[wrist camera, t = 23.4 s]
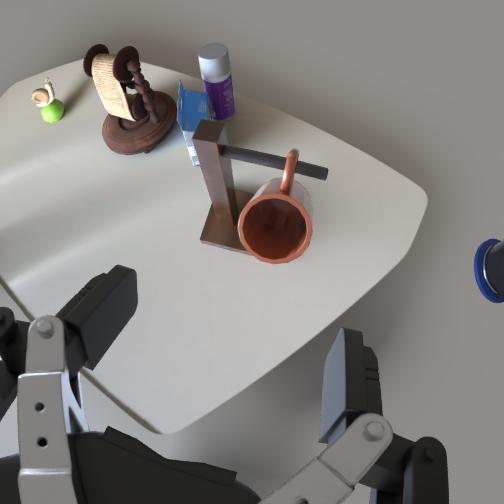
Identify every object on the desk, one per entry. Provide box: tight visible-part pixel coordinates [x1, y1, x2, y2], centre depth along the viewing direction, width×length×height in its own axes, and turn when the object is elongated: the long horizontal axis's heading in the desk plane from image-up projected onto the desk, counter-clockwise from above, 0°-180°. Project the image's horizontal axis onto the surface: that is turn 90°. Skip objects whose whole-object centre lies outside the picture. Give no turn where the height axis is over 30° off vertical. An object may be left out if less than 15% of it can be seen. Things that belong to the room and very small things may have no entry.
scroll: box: [83, 44, 177, 155], centre depth 43 cm, size 15×15×20 cm
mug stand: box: [192, 119, 328, 256], centre depth 36 cm, size 14×9×22 cm, turn 75°
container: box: [198, 43, 235, 122], centre depth 46 cm, size 5×5×15 cm
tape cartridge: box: [177, 80, 212, 166], centre depth 45 cm, size 9×4×12 cm, turn 6°
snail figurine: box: [32, 78, 64, 123], centre depth 50 cm, size 5×6×12 cm
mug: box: [238, 148, 312, 264], centre depth 31 cm, size 10×6×9 cm
